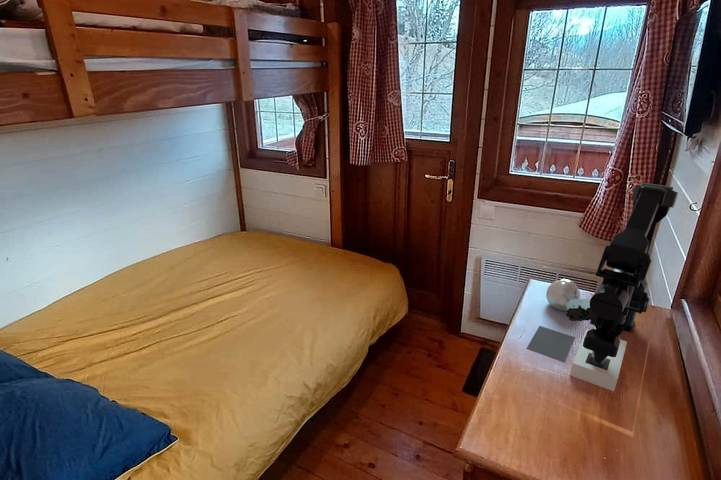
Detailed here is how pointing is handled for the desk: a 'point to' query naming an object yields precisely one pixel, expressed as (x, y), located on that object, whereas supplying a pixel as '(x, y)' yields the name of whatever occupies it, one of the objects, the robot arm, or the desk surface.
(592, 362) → the peg
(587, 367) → the hole block
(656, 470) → the desk surface
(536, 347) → the mat
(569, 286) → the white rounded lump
